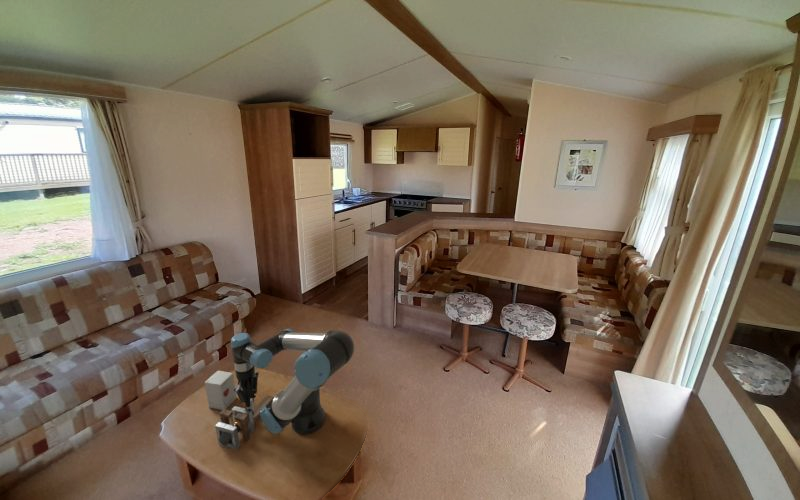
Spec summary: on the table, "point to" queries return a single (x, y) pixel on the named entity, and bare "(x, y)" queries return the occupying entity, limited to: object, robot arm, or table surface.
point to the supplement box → (220, 390)
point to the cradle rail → (261, 406)
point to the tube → (227, 436)
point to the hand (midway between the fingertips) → (251, 410)
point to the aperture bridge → (239, 417)
